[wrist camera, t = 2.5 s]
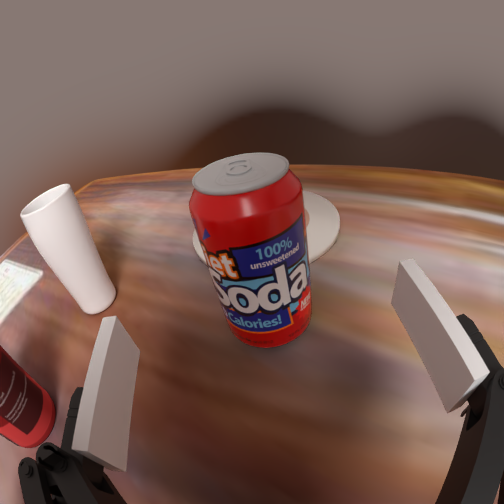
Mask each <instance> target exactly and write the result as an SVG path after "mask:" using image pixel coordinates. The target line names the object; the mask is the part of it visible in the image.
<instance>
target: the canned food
mask: <svg viewBox="0 0 504 504" xmlns="http://www.w3.org/2000/svg"><path fill="white" fill-rule="evenodd" d="M54 422H55V406H54V403H53V401H52V399H51V397H50V396H49V394H48V393H47V392H46V390H45V389H43V388H42V387H41V386H40V385H39V384H38V383H37V382H36V381H35V380H34V379H33V378H31V377H30V376H29V375H28V374H27V373H26V372H25V371H24V370H23V369H22V368H21V367H20V366H19V365H18V364H17V363H16V362H15V361H14V360H13V359H12V358H11V356H10V355H9V354H8V353H7V352H6V351H5V350H4V349H3V348H2V347H1V346H0V435H2V436H3V437H5V438H6V439H8V440H9V441H11V442H12V443H14V444H16V445H18V446H21V447H25V448H32V447H36V446H38V445H40V444H41V443H42V442H43V441H45V439H46V438H47V437H48V436H49V434H50V432H51V431H52V428H53V426H54Z"/></svg>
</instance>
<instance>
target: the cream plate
mask: <svg viewBox="0 0 504 504" xmlns="http://www.w3.org/2000/svg"><path fill="white" fill-rule="evenodd" d="M303 198H304V208H305V219H306V230H307V241H308V254H309V264H310V263H311V262H313V261H315V260H317V259H318V258H320V257H321V256H322V255H324V254H325V253H326V252H327V251H328V250H329V249H330V248H331V247H332V246H333V244H334V243H335V242H336V240H337V238H338V235H339V231H340V217H339V213H338V211H337V209H336V208H335V206H334V205H333V204H332V203H331V202H330V201H328V200H327V199H325V198H324V197H322V196H320V195H317V194H315V193H312V192H308V191H304V190H303ZM193 245H194V248H195V251H196V253H197V255H198V257H199V258H200V260H201V261H202V262H203V263H205V264H206V265H207V263H206V260H205V257H204V254H203V251H202V248H201V245H200V242H199V239H198V236H197V233H196V230H194V233H193Z"/></svg>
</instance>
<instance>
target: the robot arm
mask: <svg viewBox="0 0 504 504" xmlns="http://www.w3.org/2000/svg"><path fill="white" fill-rule="evenodd" d="M391 304H392V306H393V307H394V309H395V311H396V313H397V314H398V316H399V318H400V320H401V322H402V323H403V325H404V327H405V329H406V331H407V332H408V334H409V336H410V338H411V340H412V342H413V344H414V346H415V347H416V349H417V351H418V353H419V355H420V357H421V359H422V361H423V363H424V365H425V367H426V369H427V371H428V373H429V375H430V377H431V379H432V381H433V383H434V385H435V388H436V390H437V392H438V394H439V396H440V398H441V400H442V403H443V405H444V407H445V409H446V412H447V413H449V412H451V411H453V410H455V409H457V408H459V407H461V406H462V405H463V404H464V403H465V402H466V401H468V403H469V405H468V406H467V407H466V409H465V410H464V411H463V412H462V414H461V417H463V416H464V415H465V414H466V416H465V420H464V424H463V428H462V431H461V435H460V438H459V442H458V445H457V448H456V451H455V454H454V457H453V460H452V463H451V466H450V469H449V471H448V474H447V477H446V479H445V482H444V484H443V487H442V489H441V491H440V494H439V496H438V498H437V501H436V503H435V504H493V502H494V499H495V497H496V494H497V491H498V488H499V484H500V490H499V498H498V504H504V368H503V367H502V366H501V365H500V363H499V362H498V360H497V358H496V357H495V355H494V353H493V352H492V350H491V349H490V347H489V345H488V344H487V342H486V341H485V339H483V336H482V334H481V333H480V332H479V330H478V328H477V327H476V325H475V324H474V322H473V321H472V320H471V319H469V318H468V317H467V316H466V315H464V314H462V315H459V316H457V317H456V316H455V315H454V313H453V312H452V311H451V309H450V308H449V306H448V305H447V303H446V302H445V300H444V299H443V298H442V296H441V295H440V293H439V292H438V291H437V289H436V288H435V286H434V285H433V284H432V282H431V281H430V280H429V278H428V277H427V276H426V274H425V273H424V272H423V270H422V269H421V268H420V267H419V265H418V264H417V263H416V261H415V260H414V259H413V258H411V259H407V260H403V261H399V266H398V272H397V277H396V283H395V288H394V293H393V297H392V302H391ZM139 356H140V350H139V349H138V347H137V346H136V344H135V343H134V342H133V340H132V339H131V337H130V336H129V334H128V333H127V331H126V330H125V328H124V327H123V325H122V324H121V322H120V321H119V319H118V318H117V316H112V317H105V318H103V320H102V323H101V326H100V329H99V333H98V336H97V339H96V343H95V346H94V350H93V353H92V357H91V361H90V364H89V368H88V372H87V376H86V380H85V384H84V387H77V389H76V390H75V392H74V393H73V395H72V397H71V401H70V405H69V410H68V414H67V416H68V418H67V419H66V424H65V429H64V434H63V439H62V445H61V448H59V447H57V446H56V445H54V444H52V443H49V442H46V443H44V444H42V445H41V446H40V447H39V448H38V450H37V453H36V461H35V460H33V459H31V458H29V457H26V458H24V459H22V460H21V462H20V464H19V467H18V473H19V479H20V484H21V489H22V493H23V498H24V502H25V504H127V503H126V502H125V501H124V499H123V498H122V496H121V495H120V494H119V492H118V491H117V489H116V488H115V487H114V485H113V484H112V482H111V481H110V479H109V478H108V476H107V475H106V474H105V473H104V472H103V469H104V467H105V468H107V469H109V470H112V471H121V472H126V468H127V454H128V442H129V431H130V422H131V413H132V404H133V397H134V389H135V382H136V375H137V369H138V362H139ZM500 481H501V482H500ZM51 495H52V498H51Z"/></svg>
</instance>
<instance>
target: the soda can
mask: <svg viewBox="0 0 504 504" xmlns="http://www.w3.org/2000/svg"><path fill="white" fill-rule="evenodd" d="M192 185H193V187H194V190H193V193H192V196H191V199H190V201H189V210H190V213H191V217H192V220H193V223H194V226H195V230H196V233H197V236H198V239H199V242H200V245H201V248H202V251H203V254H204V257H205V260H206V263H207V266H208V269H209V272H210V274H211V277H212V280H213V283H214V286H215V289H216V292H217V295H218V297H219V300H220V303H221V306H222V309H223V311H224V314H225V317H226V320H227V322H228V325H229V327H230V329H231V331H232V333H233V334H234V335H235V336H236V337H237V338H238V339H239V340H240V341H242V342H244V343H246V344H248V345H251V346H255V347H261V348H271V347H277V346H281V345H284V344H286V343H289V342H291V341H292V340H294V339H296V338H297V337H298V336H299V335H301V334H302V333H303V332H304V330H305V329H306V328H307V326H308V324H309V322H310V320H311V315H312V299H311V282H310V267H309V254H308V241H307V230H306V219H305V208H304V198H303V190H302V185H301V182H300V180H299V178H298V177H297V176H296V175H295V174H294V173H293V172H292V171H291V170H290V169H289V162H288V160H287V159H286V158H284V157H283V156H280V155H277V154H272V153H248V154H241V155H236V156H232V157H228V158H225V159H222V160H219V161H216V162H214V163H212V164H209V165H208V166H206V167H204V168H202V169H201V170H200V171H198V172H197V173H196V174H195V176H194V177H193V179H192Z"/></svg>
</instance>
